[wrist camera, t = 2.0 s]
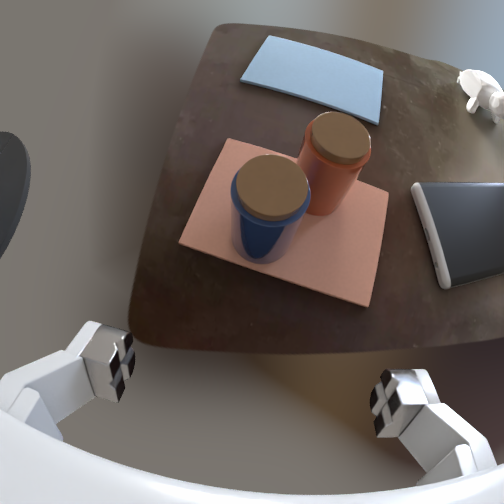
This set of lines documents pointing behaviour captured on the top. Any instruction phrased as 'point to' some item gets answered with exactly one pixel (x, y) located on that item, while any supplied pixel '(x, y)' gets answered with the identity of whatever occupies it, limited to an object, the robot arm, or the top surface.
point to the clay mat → (298, 233)
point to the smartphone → (462, 229)
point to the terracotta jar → (332, 159)
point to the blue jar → (267, 207)
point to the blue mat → (317, 77)
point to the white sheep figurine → (482, 93)
